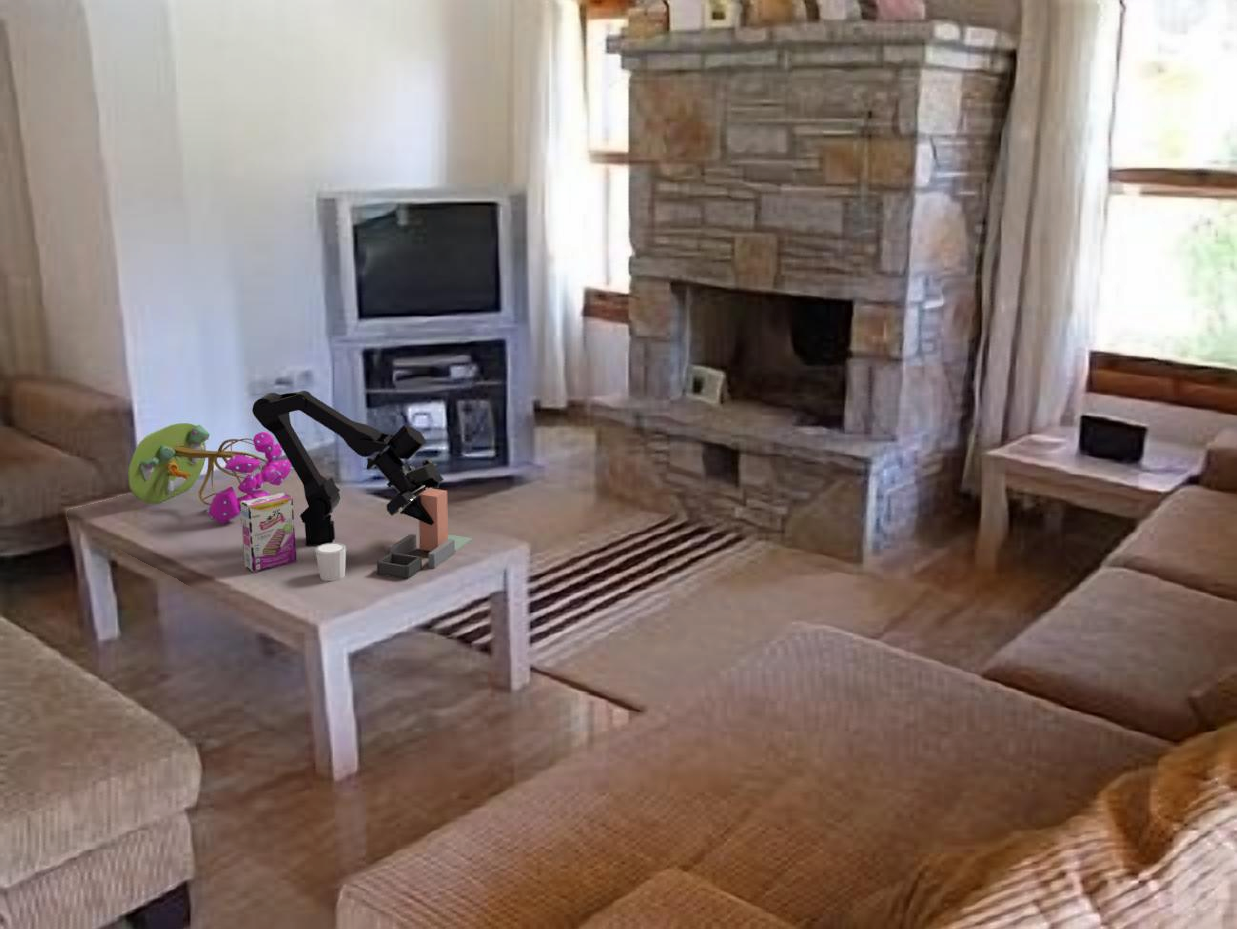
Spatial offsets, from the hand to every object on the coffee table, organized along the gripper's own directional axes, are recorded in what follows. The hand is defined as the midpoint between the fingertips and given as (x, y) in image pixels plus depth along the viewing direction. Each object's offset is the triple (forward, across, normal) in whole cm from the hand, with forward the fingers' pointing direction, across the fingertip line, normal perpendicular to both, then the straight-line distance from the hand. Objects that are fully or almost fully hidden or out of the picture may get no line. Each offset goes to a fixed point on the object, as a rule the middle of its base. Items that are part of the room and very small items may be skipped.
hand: (438, 520), depth 279 cm
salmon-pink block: (+4, 0, +6) cm, 7 cm away
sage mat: (+5, +6, +7) cm, 10 cm away
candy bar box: (-17, -22, +29) cm, 40 cm away
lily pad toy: (-44, +6, +56) cm, 71 cm away
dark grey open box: (+4, -15, +7) cm, 17 cm away
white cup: (-5, -23, +17) cm, 28 cm away
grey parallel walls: (+5, -5, +7) cm, 9 cm away
